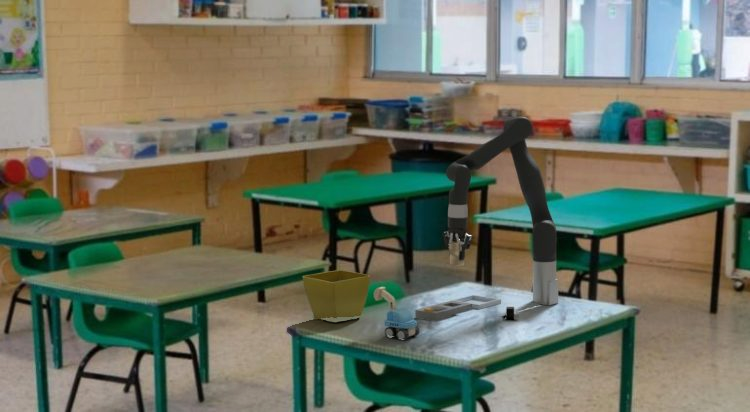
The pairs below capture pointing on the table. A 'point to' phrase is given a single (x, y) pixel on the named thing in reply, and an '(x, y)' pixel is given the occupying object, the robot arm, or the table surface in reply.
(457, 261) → the plug peg
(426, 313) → the power strip
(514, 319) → the black block
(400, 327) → the toy excavator
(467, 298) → the tray
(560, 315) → the table surface
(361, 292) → the flower pot
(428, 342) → the table surface
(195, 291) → the table surface
